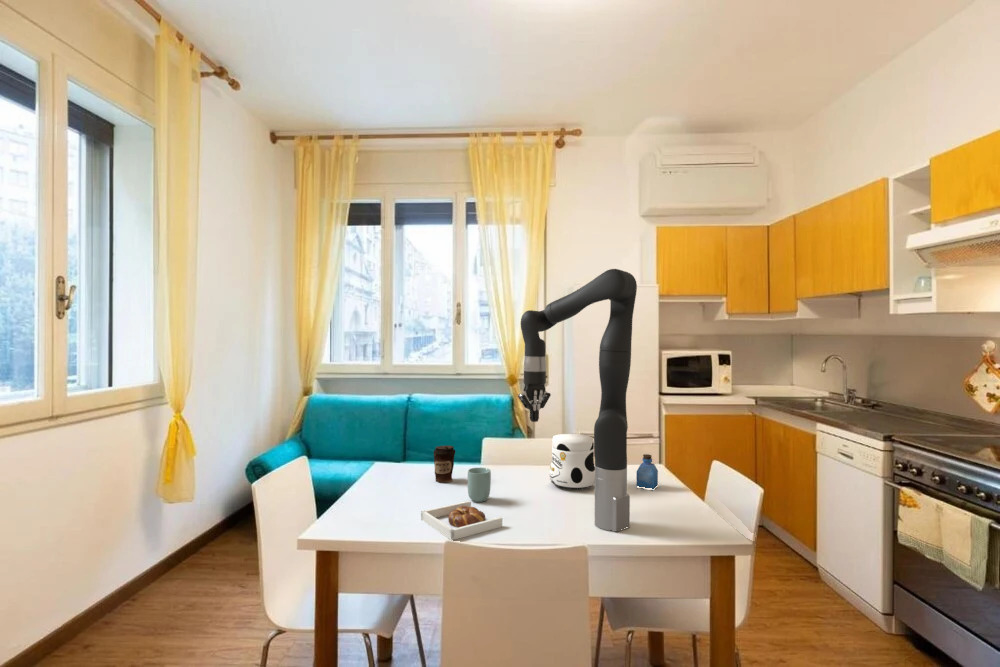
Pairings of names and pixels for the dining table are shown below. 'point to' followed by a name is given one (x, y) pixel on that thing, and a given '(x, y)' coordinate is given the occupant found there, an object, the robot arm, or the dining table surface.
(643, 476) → the perfume bottle
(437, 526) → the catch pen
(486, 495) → the cup
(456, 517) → the pretzel
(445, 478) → the coffee cup
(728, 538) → the dining table surface
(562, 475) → the milk container
